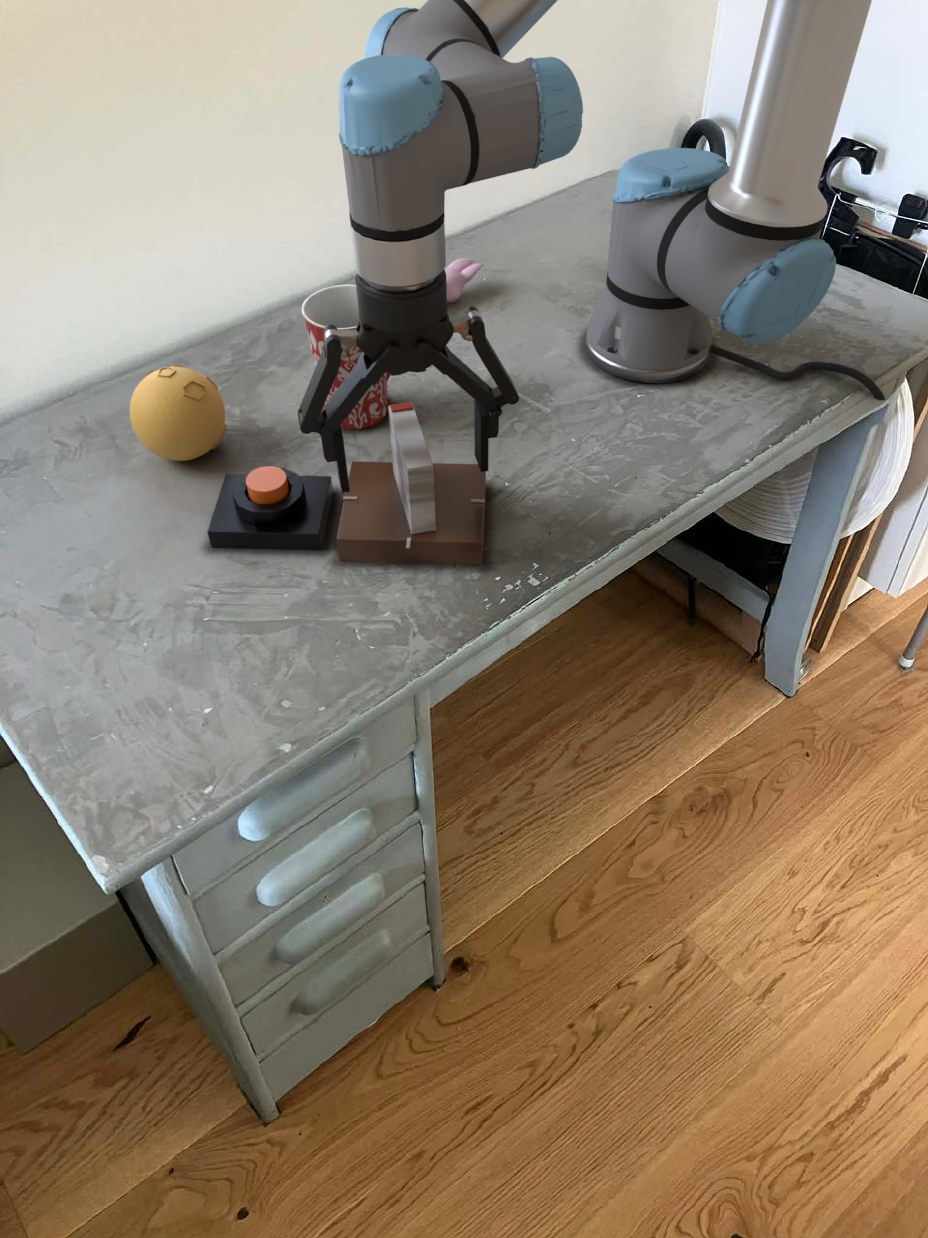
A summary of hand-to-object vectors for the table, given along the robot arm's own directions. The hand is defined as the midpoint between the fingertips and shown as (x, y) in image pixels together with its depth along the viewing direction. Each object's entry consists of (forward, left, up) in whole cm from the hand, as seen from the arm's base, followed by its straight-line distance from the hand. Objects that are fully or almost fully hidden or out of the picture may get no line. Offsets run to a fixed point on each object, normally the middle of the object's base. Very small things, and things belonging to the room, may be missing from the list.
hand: (413, 473), depth 99 cm
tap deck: (0, 0, -6) cm, 6 cm away
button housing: (+15, 0, -6) cm, 16 cm away
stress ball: (+26, -11, -7) cm, 29 cm away
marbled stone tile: (0, 0, -3) cm, 3 cm away
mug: (+7, -20, -7) cm, 22 cm away
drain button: (+15, 0, -3) cm, 15 cm away
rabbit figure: (0, -43, -7) cm, 43 cm away
